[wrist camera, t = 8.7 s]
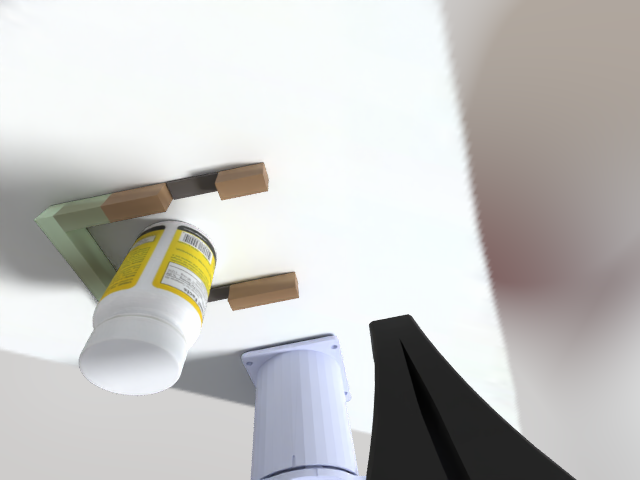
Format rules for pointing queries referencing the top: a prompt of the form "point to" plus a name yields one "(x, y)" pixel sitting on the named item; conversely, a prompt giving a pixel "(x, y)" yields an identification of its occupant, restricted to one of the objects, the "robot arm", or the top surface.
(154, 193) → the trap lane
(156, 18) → the top surface
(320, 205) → the top surface
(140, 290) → the supplement bottle
